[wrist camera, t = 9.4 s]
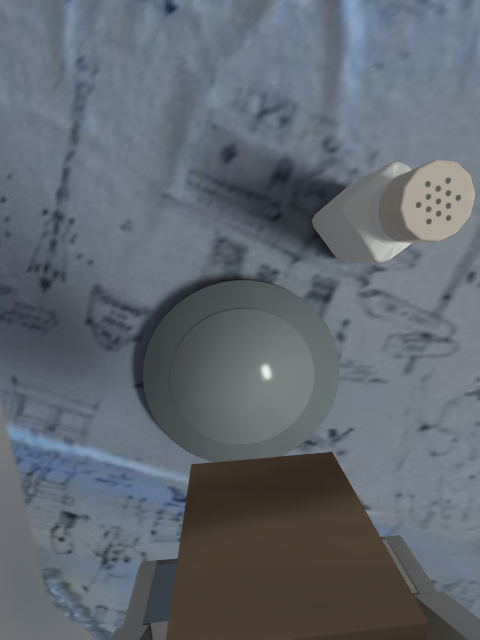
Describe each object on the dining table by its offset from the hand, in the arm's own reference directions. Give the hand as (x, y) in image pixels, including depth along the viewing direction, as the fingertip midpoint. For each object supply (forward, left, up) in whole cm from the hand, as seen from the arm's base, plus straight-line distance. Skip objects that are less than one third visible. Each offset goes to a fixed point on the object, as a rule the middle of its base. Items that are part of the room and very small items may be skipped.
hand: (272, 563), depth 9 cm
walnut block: (0, 0, -2) cm, 2 cm away
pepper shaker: (-11, +8, -15) cm, 20 cm away
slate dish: (0, 0, -15) cm, 15 cm away
